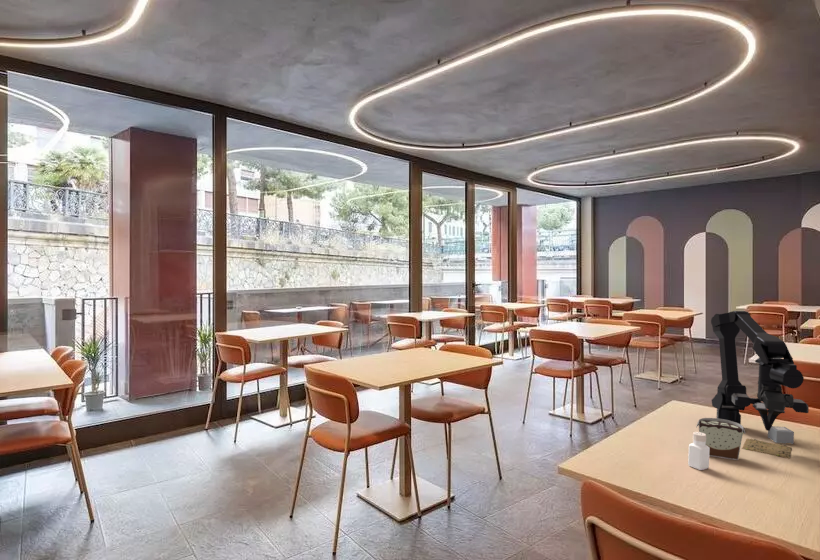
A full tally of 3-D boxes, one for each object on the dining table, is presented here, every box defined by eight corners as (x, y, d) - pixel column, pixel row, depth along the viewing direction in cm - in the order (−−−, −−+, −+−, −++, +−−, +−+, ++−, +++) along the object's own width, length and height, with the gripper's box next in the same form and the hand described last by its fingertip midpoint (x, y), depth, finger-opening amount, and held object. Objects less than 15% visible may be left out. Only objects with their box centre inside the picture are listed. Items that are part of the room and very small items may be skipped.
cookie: (745, 439, 164) (745, 436, 164) (792, 448, 156) (792, 445, 156) (740, 449, 155) (741, 446, 155) (790, 460, 147) (790, 457, 147)
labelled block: (776, 443, 160) (776, 430, 160) (767, 437, 165) (768, 425, 165) (793, 444, 159) (794, 431, 159) (784, 438, 164) (784, 426, 164)
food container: (740, 454, 150) (741, 421, 150) (744, 461, 145) (745, 427, 144) (693, 447, 155) (694, 415, 155) (695, 453, 150) (696, 420, 149)
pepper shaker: (700, 471, 137) (702, 437, 137) (687, 465, 141) (688, 432, 140) (709, 468, 139) (711, 434, 138) (695, 463, 142) (697, 430, 142)
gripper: (740, 382, 151) (737, 433, 151) (816, 389, 144) (814, 443, 144) (732, 375, 161) (730, 423, 162) (803, 381, 154) (800, 431, 154)
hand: (767, 430), depth 155 cm, fingers closed
